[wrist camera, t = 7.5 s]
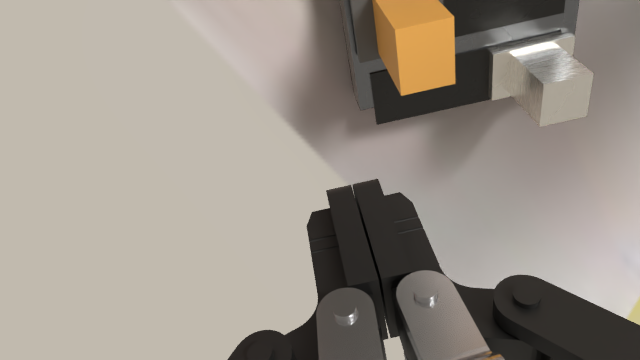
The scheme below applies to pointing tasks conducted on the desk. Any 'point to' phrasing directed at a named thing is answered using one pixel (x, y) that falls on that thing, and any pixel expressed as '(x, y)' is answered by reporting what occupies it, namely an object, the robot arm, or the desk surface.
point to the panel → (490, 63)
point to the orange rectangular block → (407, 41)
